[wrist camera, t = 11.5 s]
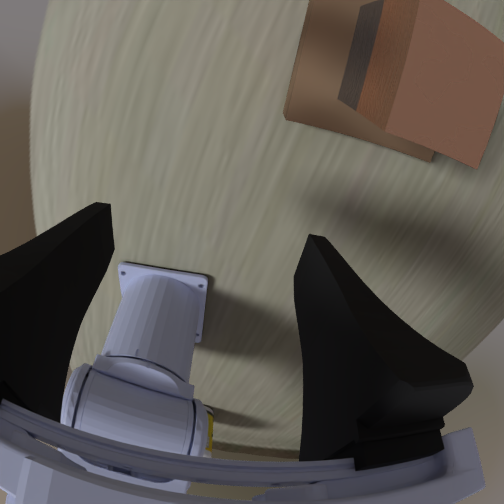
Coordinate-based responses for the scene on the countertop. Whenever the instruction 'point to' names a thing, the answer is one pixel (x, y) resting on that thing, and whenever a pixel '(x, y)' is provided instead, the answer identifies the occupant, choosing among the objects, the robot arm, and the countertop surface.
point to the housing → (426, 75)
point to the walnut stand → (333, 77)
